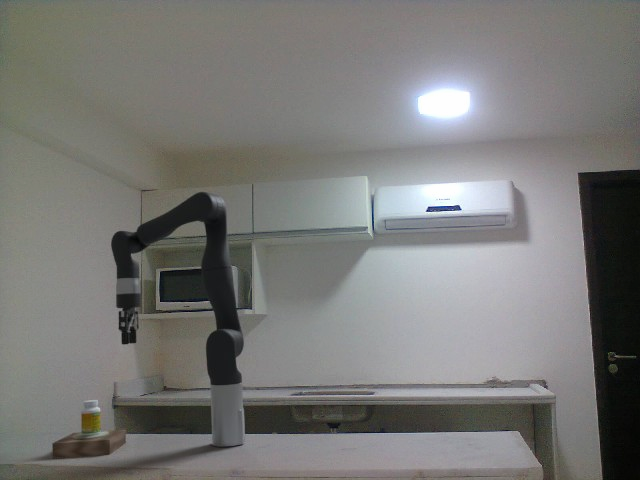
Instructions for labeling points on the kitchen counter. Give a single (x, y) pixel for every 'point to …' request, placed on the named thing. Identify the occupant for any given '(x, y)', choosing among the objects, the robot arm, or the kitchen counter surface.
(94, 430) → the supplement bottle
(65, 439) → the plinth
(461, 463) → the kitchen counter surface
